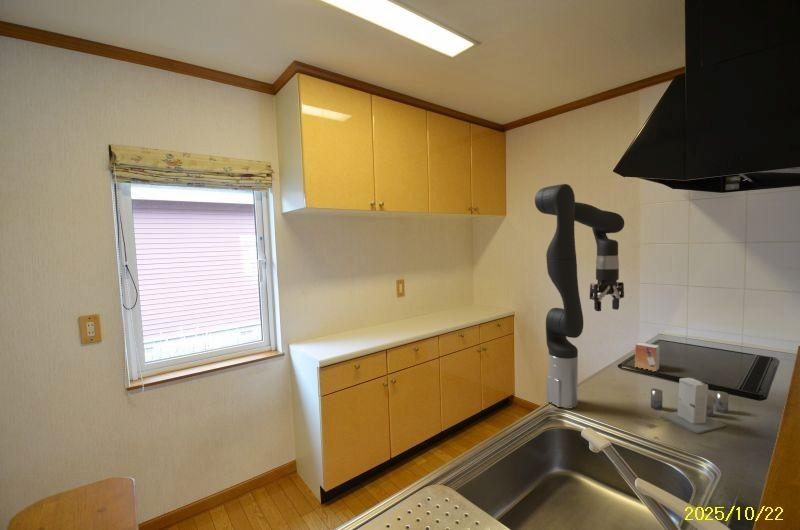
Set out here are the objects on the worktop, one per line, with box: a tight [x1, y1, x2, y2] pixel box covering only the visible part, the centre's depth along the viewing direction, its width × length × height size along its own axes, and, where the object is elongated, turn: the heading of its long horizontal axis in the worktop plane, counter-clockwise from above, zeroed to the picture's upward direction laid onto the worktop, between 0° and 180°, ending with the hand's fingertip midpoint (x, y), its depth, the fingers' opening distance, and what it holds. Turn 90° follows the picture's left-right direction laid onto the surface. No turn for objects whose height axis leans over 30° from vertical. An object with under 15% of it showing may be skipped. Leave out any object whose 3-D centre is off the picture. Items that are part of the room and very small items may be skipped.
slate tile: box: [659, 410, 727, 434], centre depth 113 cm, size 12×11×1 cm
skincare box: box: [677, 377, 709, 424], centre depth 112 cm, size 6×4×12 cm
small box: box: [634, 341, 661, 372], centre depth 160 cm, size 8×6×10 cm
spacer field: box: [650, 388, 730, 418], centre depth 121 cm, size 21×12×6 cm, turn 108°
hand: (606, 310), depth 138 cm, fingers open, 8 cm apart
